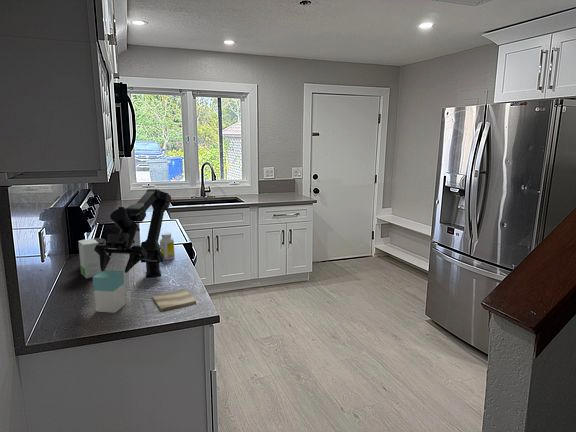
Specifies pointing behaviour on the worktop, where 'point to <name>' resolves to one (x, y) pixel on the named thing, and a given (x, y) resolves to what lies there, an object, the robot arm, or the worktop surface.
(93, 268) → the skincare box
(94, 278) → the aqua cube
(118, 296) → the cream storage box
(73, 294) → the worktop surface
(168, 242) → the supplement bottle
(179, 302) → the oak board
